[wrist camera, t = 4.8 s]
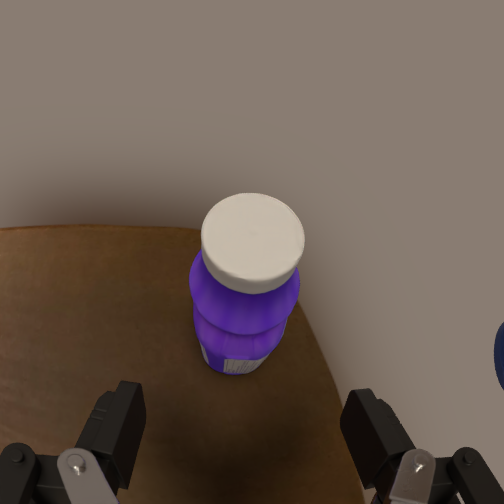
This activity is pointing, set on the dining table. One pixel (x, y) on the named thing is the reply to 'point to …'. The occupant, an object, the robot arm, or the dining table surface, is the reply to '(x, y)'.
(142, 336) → the dining table surface
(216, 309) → the bottle
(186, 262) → the dining table surface
